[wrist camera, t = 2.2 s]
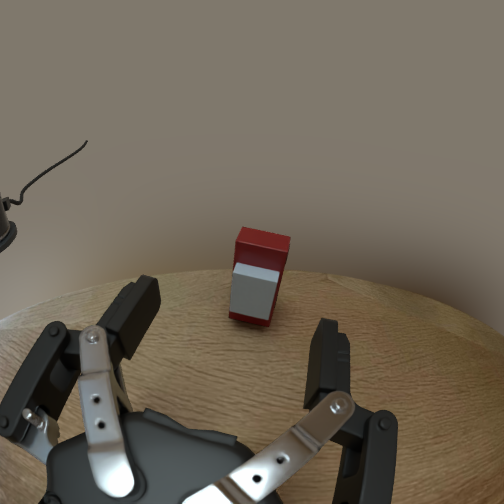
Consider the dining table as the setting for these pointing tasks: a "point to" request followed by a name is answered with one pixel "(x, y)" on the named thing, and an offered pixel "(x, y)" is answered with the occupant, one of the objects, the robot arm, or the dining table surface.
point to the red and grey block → (257, 275)
